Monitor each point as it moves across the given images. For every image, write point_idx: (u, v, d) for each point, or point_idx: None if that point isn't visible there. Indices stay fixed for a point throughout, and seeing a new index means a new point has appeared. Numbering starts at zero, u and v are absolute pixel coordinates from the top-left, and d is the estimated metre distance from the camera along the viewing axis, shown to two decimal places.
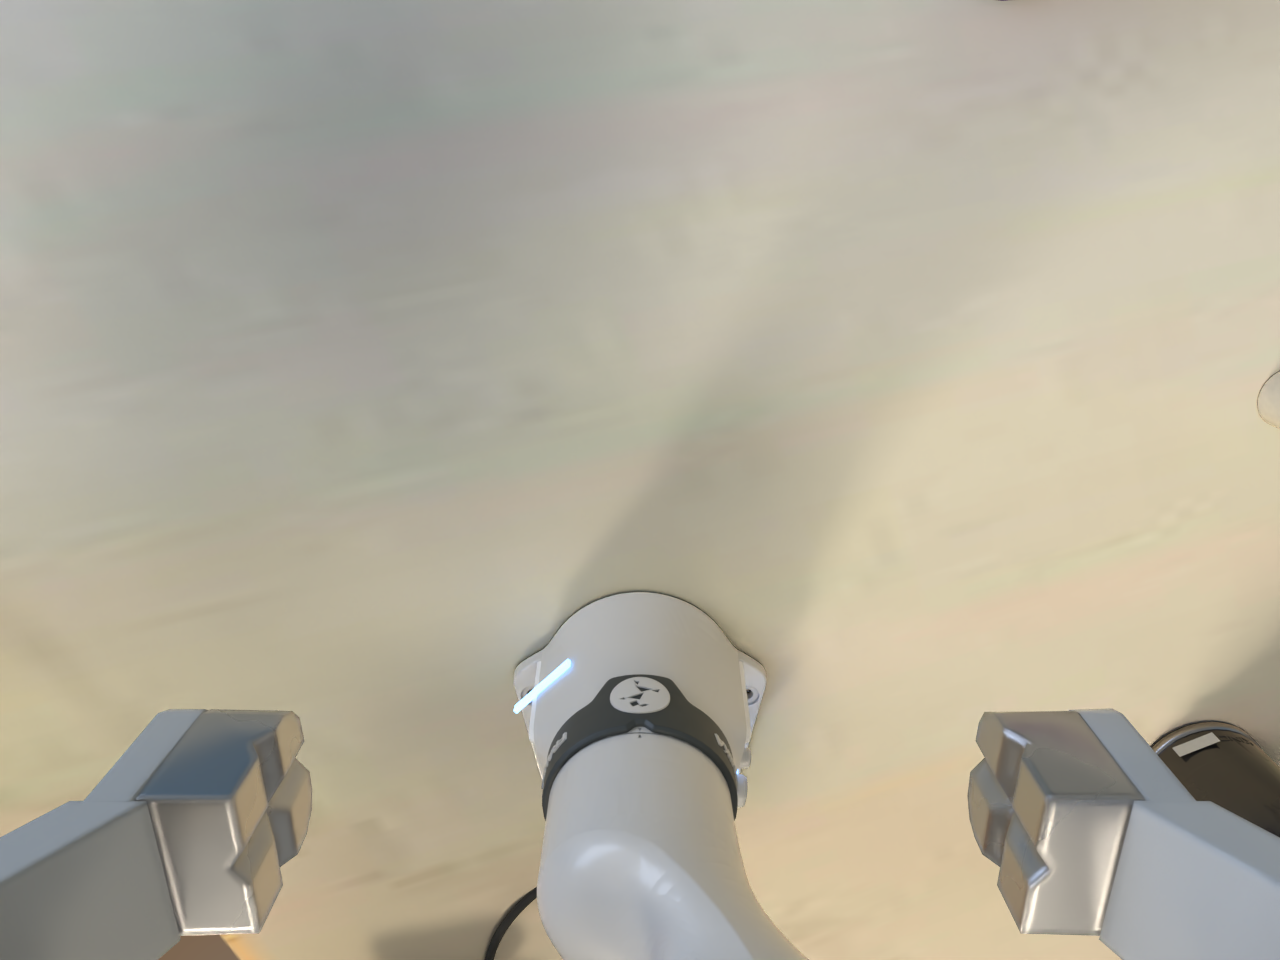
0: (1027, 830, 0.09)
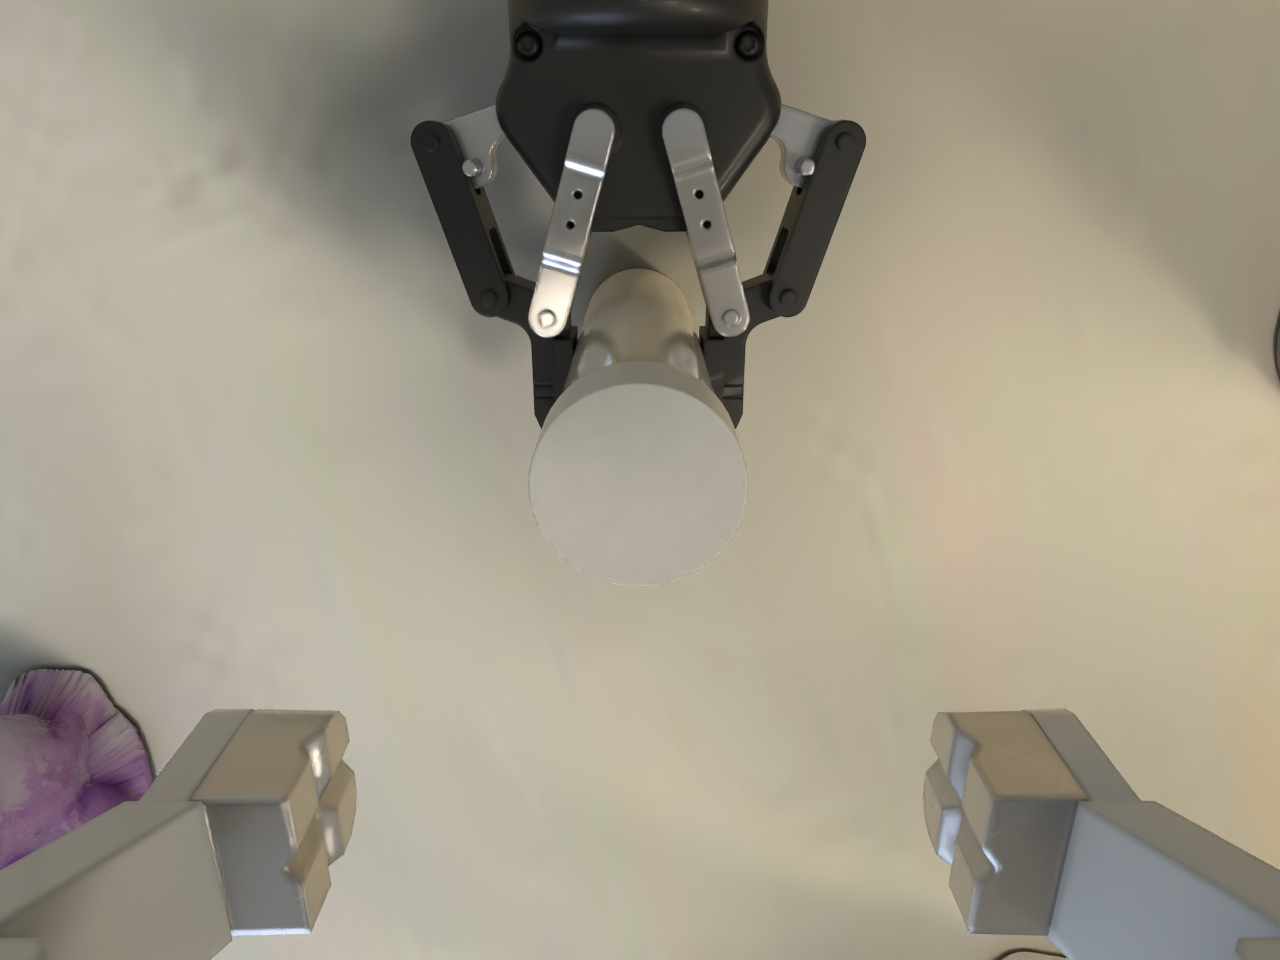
0: (975, 830, 0.09)
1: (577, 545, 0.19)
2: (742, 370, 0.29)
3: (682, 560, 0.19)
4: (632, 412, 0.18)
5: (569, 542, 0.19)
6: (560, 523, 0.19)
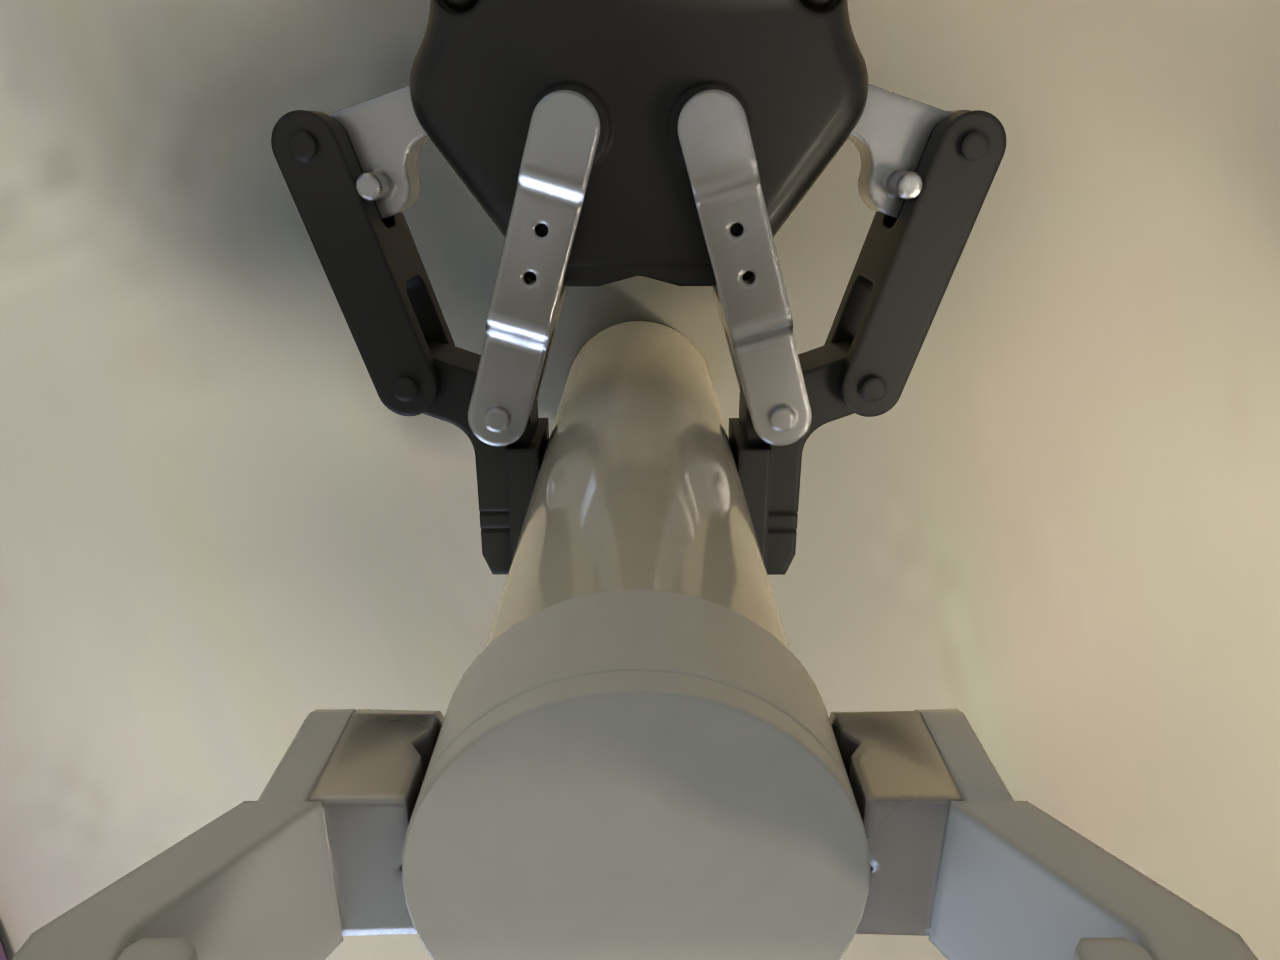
0: None
1: None
2: (796, 491, 0.19)
3: None
4: (623, 747, 0.08)
5: None
6: (473, 946, 0.09)
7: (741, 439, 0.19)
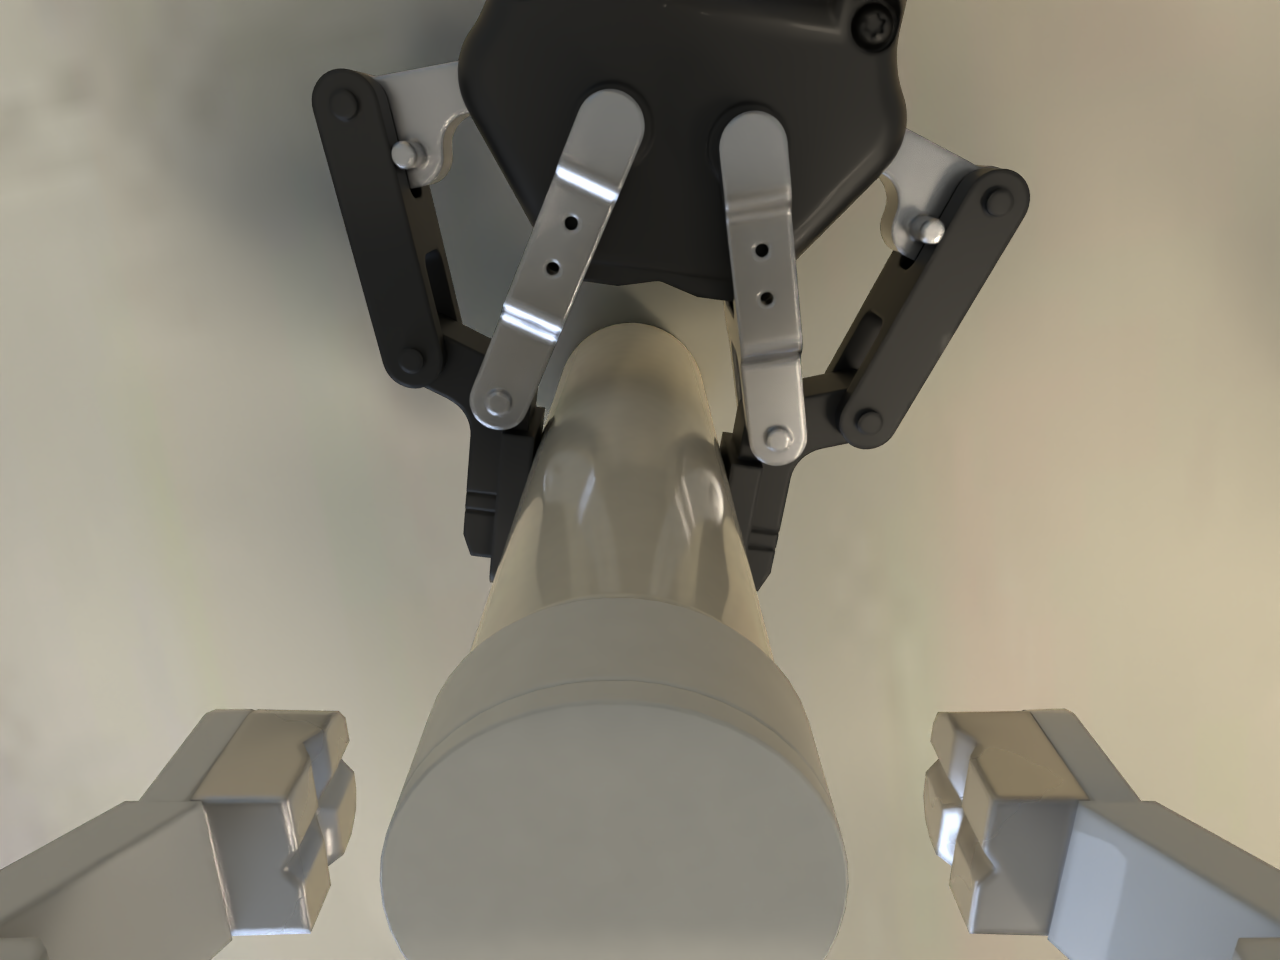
0: (975, 830, 0.09)
1: None
2: (780, 512, 0.19)
3: (807, 904, 0.09)
4: (457, 832, 0.08)
5: None
6: None
7: (734, 454, 0.19)
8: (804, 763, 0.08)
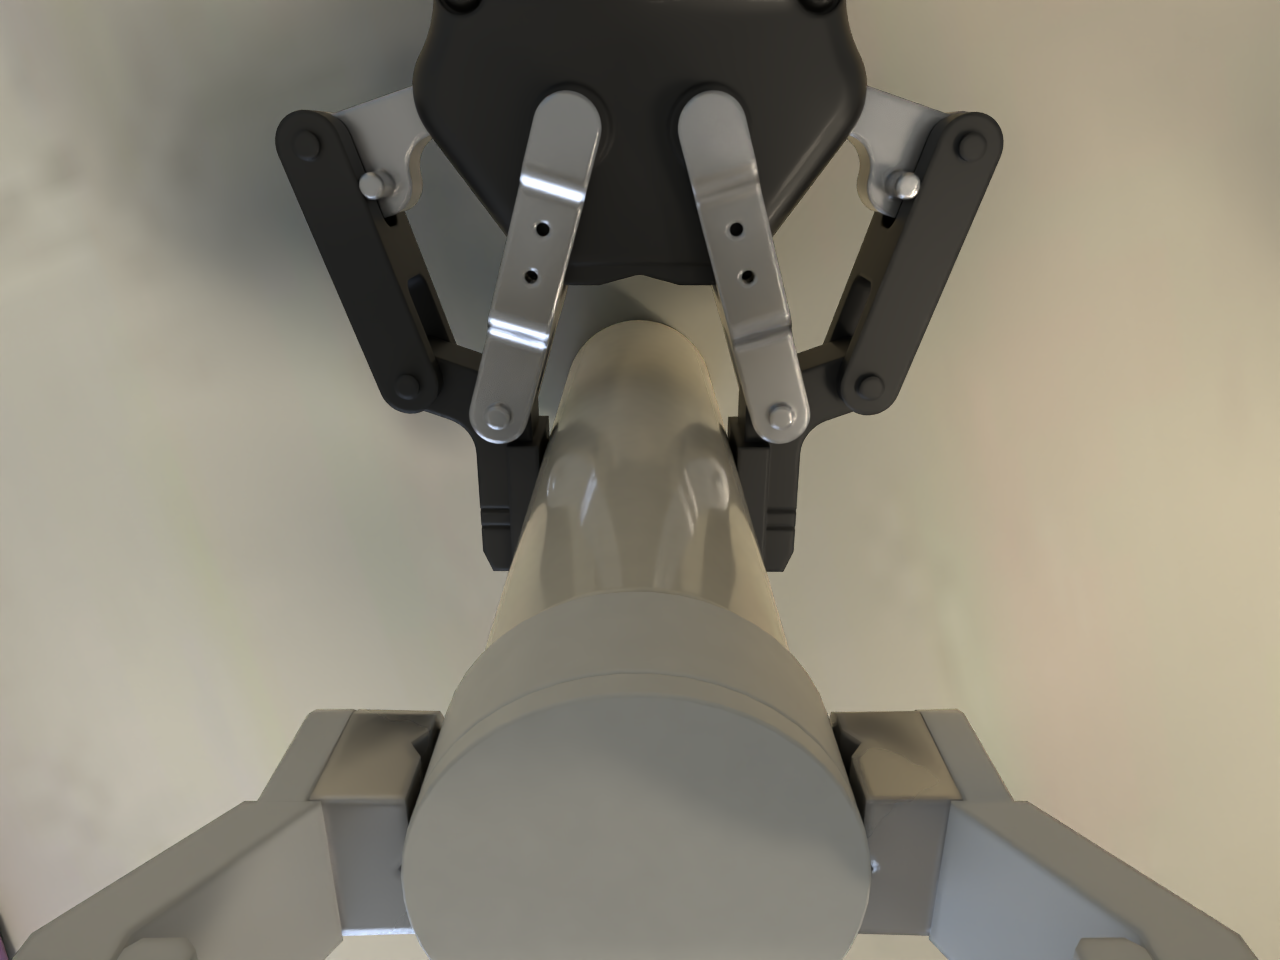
0: None
1: None
2: (794, 489, 0.19)
3: (831, 878, 0.09)
4: (471, 843, 0.08)
5: None
6: None
7: (740, 437, 0.19)
8: (807, 736, 0.08)
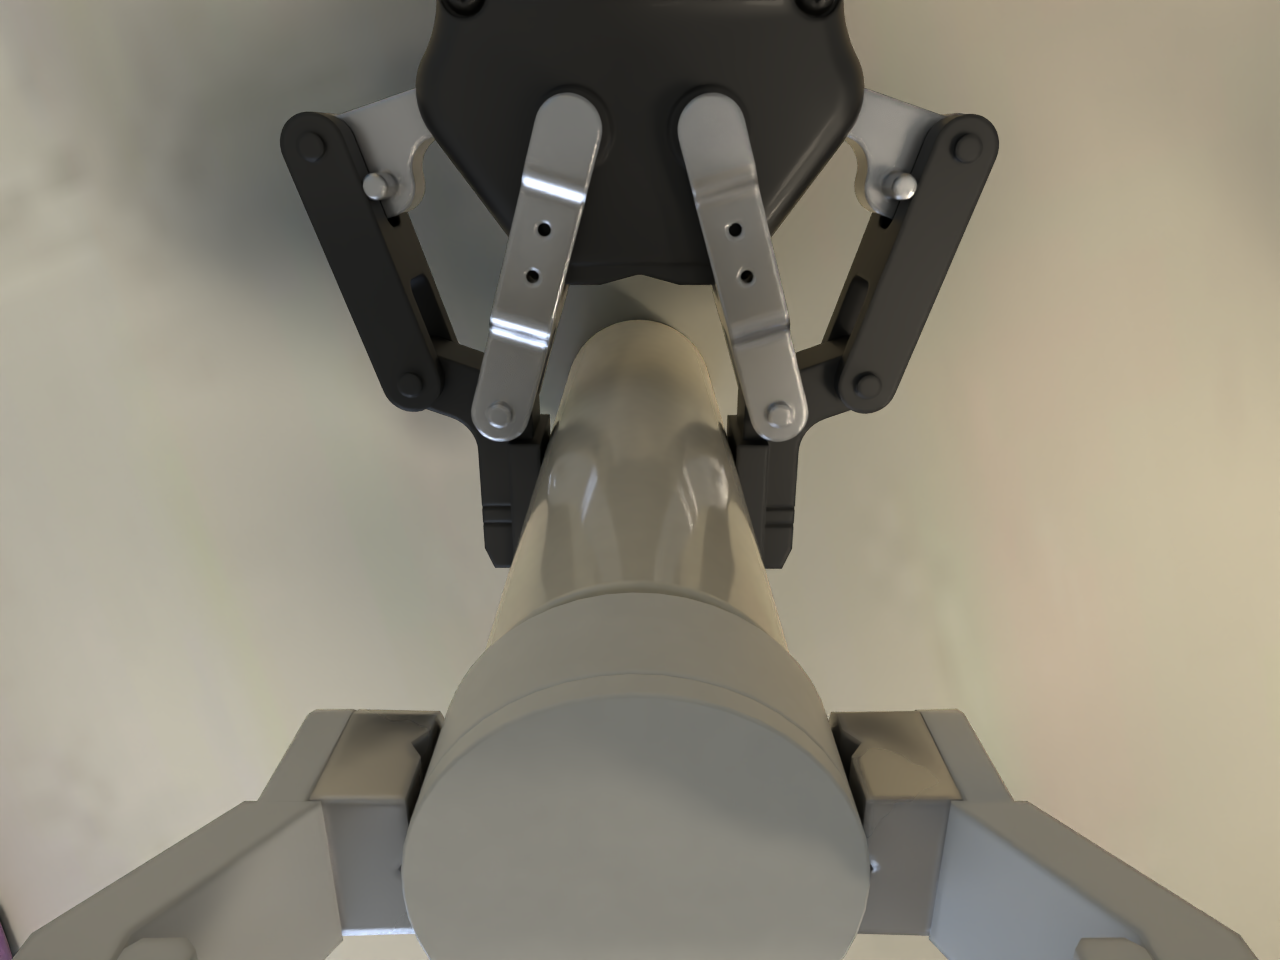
0: None
1: (821, 904, 0.09)
2: (793, 487, 0.19)
3: (705, 741, 0.08)
4: None
5: (825, 918, 0.09)
6: (800, 947, 0.09)
7: (739, 435, 0.19)
8: (549, 689, 0.08)
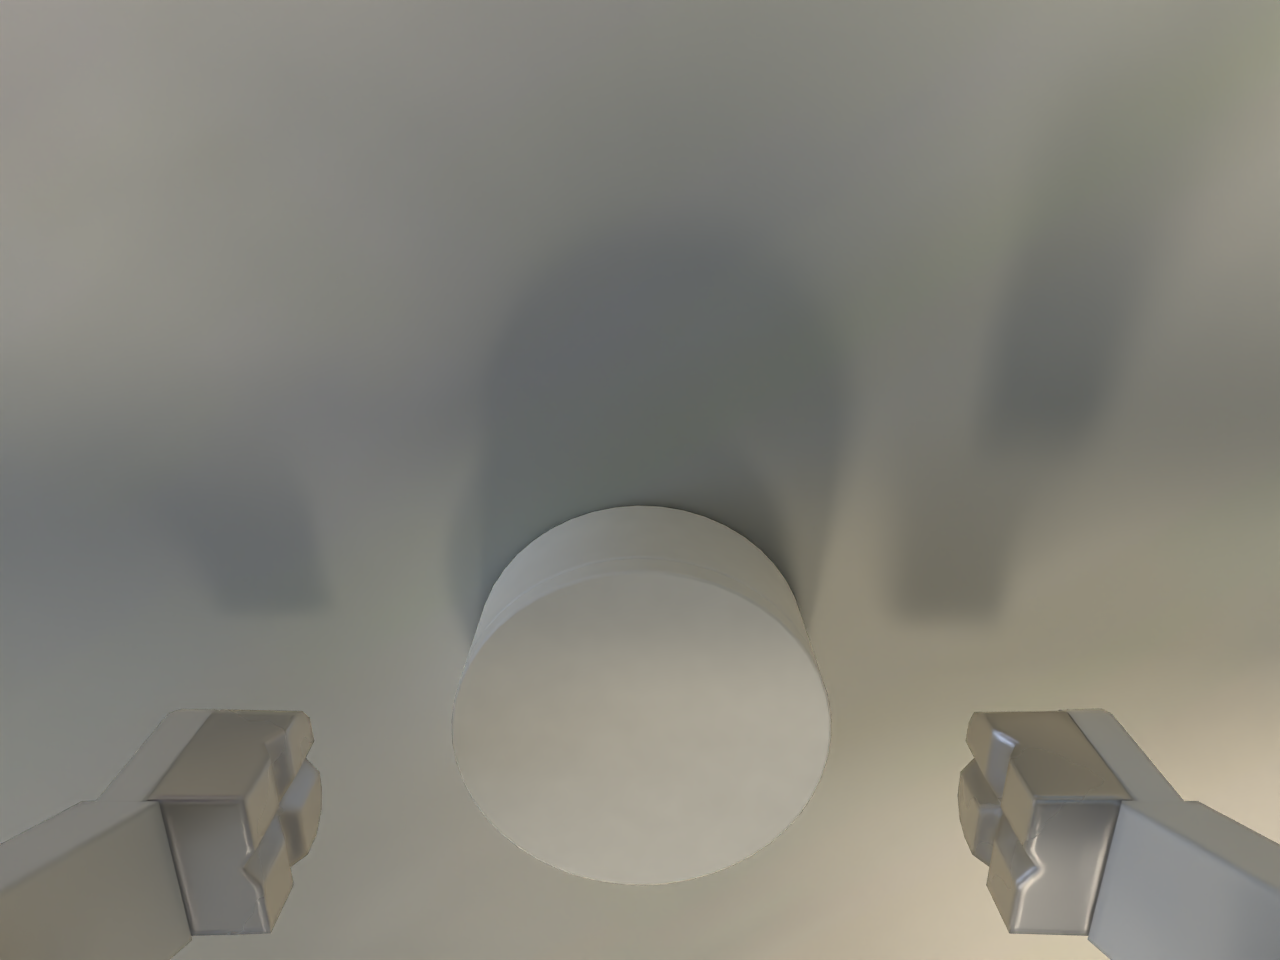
0: (1015, 830, 0.09)
1: (791, 751, 0.11)
2: None
3: (697, 610, 0.10)
4: (545, 818, 0.11)
5: (795, 763, 0.11)
6: (775, 790, 0.11)
7: None
8: (572, 571, 0.10)
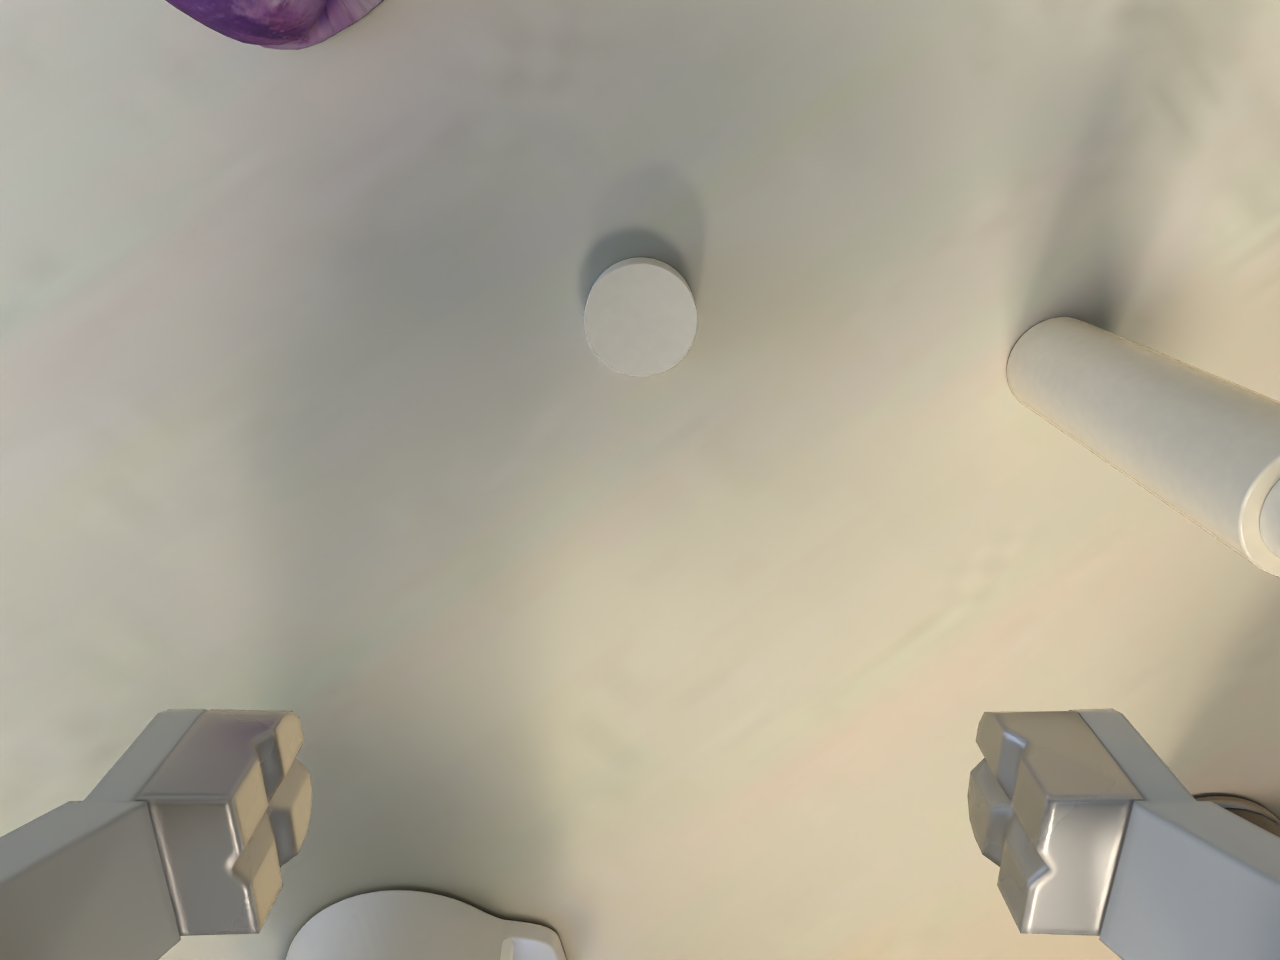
0: (1027, 830, 0.09)
1: (686, 325, 0.36)
2: None
3: (656, 276, 0.35)
4: (611, 350, 0.36)
5: (687, 329, 0.36)
6: (681, 339, 0.36)
7: None
8: (620, 266, 0.35)
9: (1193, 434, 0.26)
